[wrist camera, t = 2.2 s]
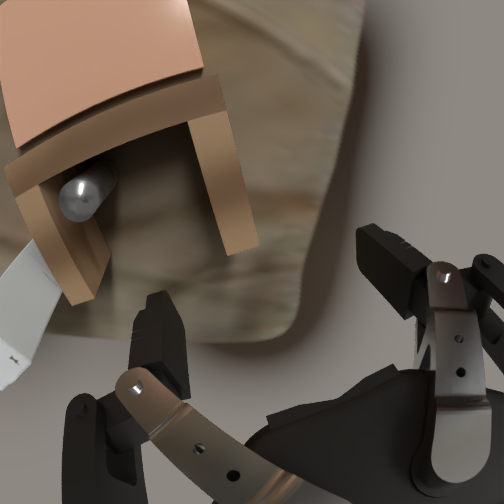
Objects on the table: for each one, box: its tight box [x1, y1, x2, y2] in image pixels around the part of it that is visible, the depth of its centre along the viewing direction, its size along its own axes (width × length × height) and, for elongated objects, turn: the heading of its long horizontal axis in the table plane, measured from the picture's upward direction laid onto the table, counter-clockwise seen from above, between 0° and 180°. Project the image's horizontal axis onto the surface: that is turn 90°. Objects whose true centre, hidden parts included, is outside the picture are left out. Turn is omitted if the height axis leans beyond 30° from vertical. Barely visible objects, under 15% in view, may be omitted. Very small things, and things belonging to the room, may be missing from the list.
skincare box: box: [0, 239, 63, 391], centre depth 14 cm, size 6×4×12 cm
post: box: [59, 160, 119, 222], centre depth 16 cm, size 2×2×6 cm
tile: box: [0, 0, 204, 149], centre depth 12 cm, size 15×14×1 cm
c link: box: [4, 74, 260, 306], centre depth 16 cm, size 10×13×6 cm
